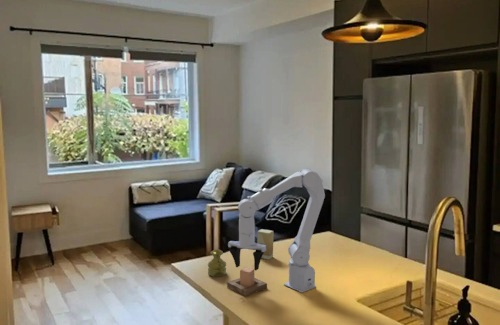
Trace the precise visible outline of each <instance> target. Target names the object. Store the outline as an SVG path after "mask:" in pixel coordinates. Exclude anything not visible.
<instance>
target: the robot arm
mask: <svg viewBox="0 0 500 325" xmlns="http://www.w3.org/2000/svg"><path fill="white" fill-rule="evenodd" d="M303 187H305V188H306V191H307V192H308V195H309V198H308V201H307V205H306V208H305V211H304V214H303V218H302V220H301V223H300V226H299V229H298V231H297V235H296V236H295V237H294V238H293V241H292V243H291V244H289V246H288V254H289V256H290V259H289V260H288V262H289V263H288V281H287V282H285V283H283V286H284V287H285V286H286V287H288V288H291V289H293V290H295V291H298V292H300V293H304V292H307V291H309V290H312V289H315V288H316V287H317V285H316V280H315V279H316V271H315V268H314V267H313V266H311V265H310V262H309V261H310V260H311V259H310V250H311V239H312V236H313V233H314V230H315V227H316V224H317V221H318V218H319V217H320V216H319V215H320V212H321V210H322V207H323V204H324V201H325V200H324V199H325V198H326V194H325V193H326V192H325V189H324V185H323V179H322V177H321V176H320V175H319V173H318V172H315V171H314V170H312V169H311V168H308V167H305V168H303V169H300V171H296V172H294V173H293V174H291V175H289V176H288V177H287V178H284V179H283V180H281V181H280V182H278V183H277V184H275V185H273V186H272V187H270V188H265V187H263V188H259V189H258V190H257V191H258V192H256V193H254V194H252V195H248V196H247V198H243V199H241V200H240V201H239V203H238V205H237V209H238V212H239V213H238V218H239V219H238V240H236V241H235V240H230V241H228V243H227V246H228V248H230V249H229V253H230V254H231V256H232V258H233V262H234V265H235V268H239V267H240V266H241V251H242V249H243V250H244V249H245V250H250V251H251V250H252V251H254V252H252V255H253V262H254V266H253V267H254V268H253V269H254V271H257V270H259V269H260V268H259V267H260V263H261V260H262V259H263V258H262V255H263V253H264V252H265V251H266V245H261V244H258V243H257V242H255V241H256V238H255V237H256V236H255V233H256V231H255V230H256V228H255V227H256V226H255V224H256V223H255V222H256V221H255V214H256V211H260V210H261V209H262V208H264V207H266V206H268V205H269V204H271V203H273V201H274V199H275V197H277V196H279V195H281V194H282V193H285V192H286V191H288V190H290V189H292V188H303Z"/></svg>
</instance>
